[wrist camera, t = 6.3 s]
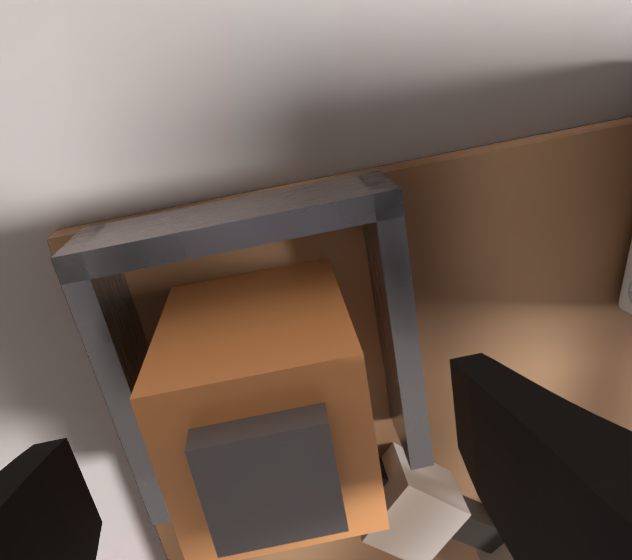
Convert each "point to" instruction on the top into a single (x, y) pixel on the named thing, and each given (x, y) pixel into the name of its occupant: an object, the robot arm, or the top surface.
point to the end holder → (228, 235)
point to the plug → (260, 415)
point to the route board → (466, 309)
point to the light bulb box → (627, 286)
